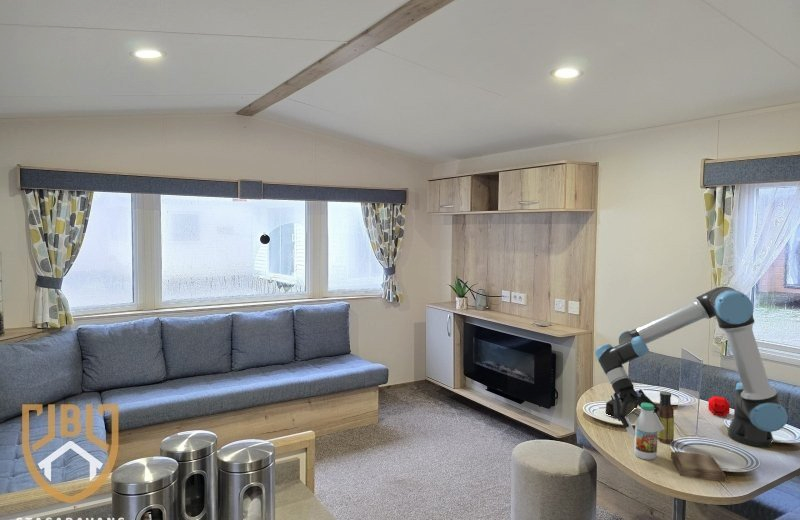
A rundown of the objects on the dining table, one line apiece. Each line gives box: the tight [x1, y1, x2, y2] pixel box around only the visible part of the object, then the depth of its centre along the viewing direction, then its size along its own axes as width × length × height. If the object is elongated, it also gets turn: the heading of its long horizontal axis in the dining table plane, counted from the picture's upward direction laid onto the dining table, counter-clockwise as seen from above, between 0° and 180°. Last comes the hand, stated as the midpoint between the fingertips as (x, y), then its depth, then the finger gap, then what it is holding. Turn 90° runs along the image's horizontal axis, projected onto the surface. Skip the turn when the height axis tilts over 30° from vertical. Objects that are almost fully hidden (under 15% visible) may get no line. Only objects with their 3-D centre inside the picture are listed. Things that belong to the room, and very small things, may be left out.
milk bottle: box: [633, 403, 658, 461], centre depth 194 cm, size 8×8×20 cm
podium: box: [670, 450, 727, 482], centre depth 185 cm, size 14×14×3 cm
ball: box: [707, 395, 731, 417], centre depth 234 cm, size 8×8×8 cm
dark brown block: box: [604, 399, 639, 417], centre depth 237 cm, size 8×19×7 cm, turn 135°
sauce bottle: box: [657, 390, 675, 444], centre depth 207 cm, size 7×6×20 cm
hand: (647, 433), depth 193 cm, fingers open, 13 cm apart
